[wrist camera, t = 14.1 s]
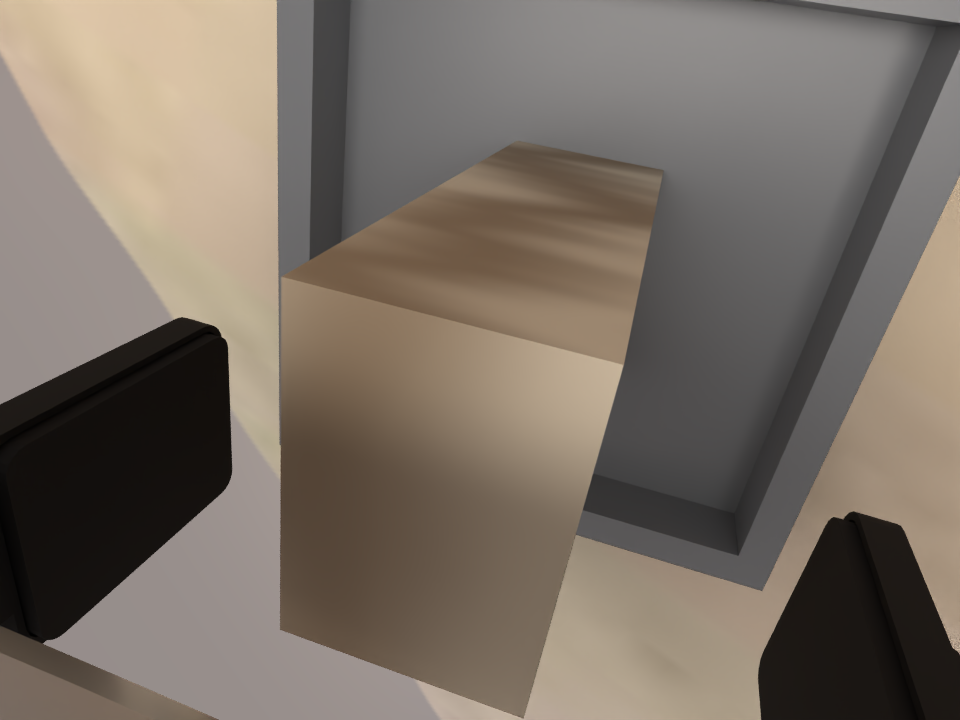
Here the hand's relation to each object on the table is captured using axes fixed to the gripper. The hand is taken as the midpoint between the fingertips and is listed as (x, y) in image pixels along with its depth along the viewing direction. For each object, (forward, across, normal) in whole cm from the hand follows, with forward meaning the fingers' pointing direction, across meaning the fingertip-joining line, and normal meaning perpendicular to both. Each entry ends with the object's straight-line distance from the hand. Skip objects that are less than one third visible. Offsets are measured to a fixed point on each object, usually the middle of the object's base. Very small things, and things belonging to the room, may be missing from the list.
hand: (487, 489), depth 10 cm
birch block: (+10, +1, 0) cm, 11 cm away
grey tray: (+12, +1, -1) cm, 12 cm away
